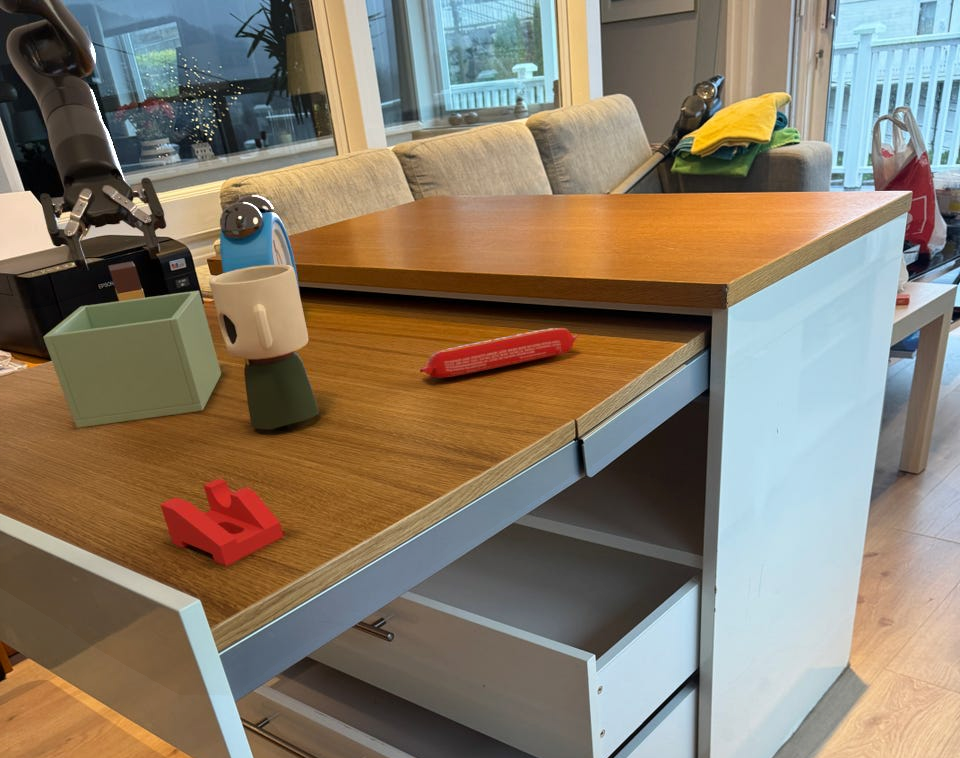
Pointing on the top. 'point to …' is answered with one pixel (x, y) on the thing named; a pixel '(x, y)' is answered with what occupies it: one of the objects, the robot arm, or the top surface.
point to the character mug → (267, 341)
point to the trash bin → (135, 359)
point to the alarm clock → (253, 236)
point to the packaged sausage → (499, 352)
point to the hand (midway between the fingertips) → (119, 260)
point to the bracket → (223, 523)
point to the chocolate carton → (126, 281)
